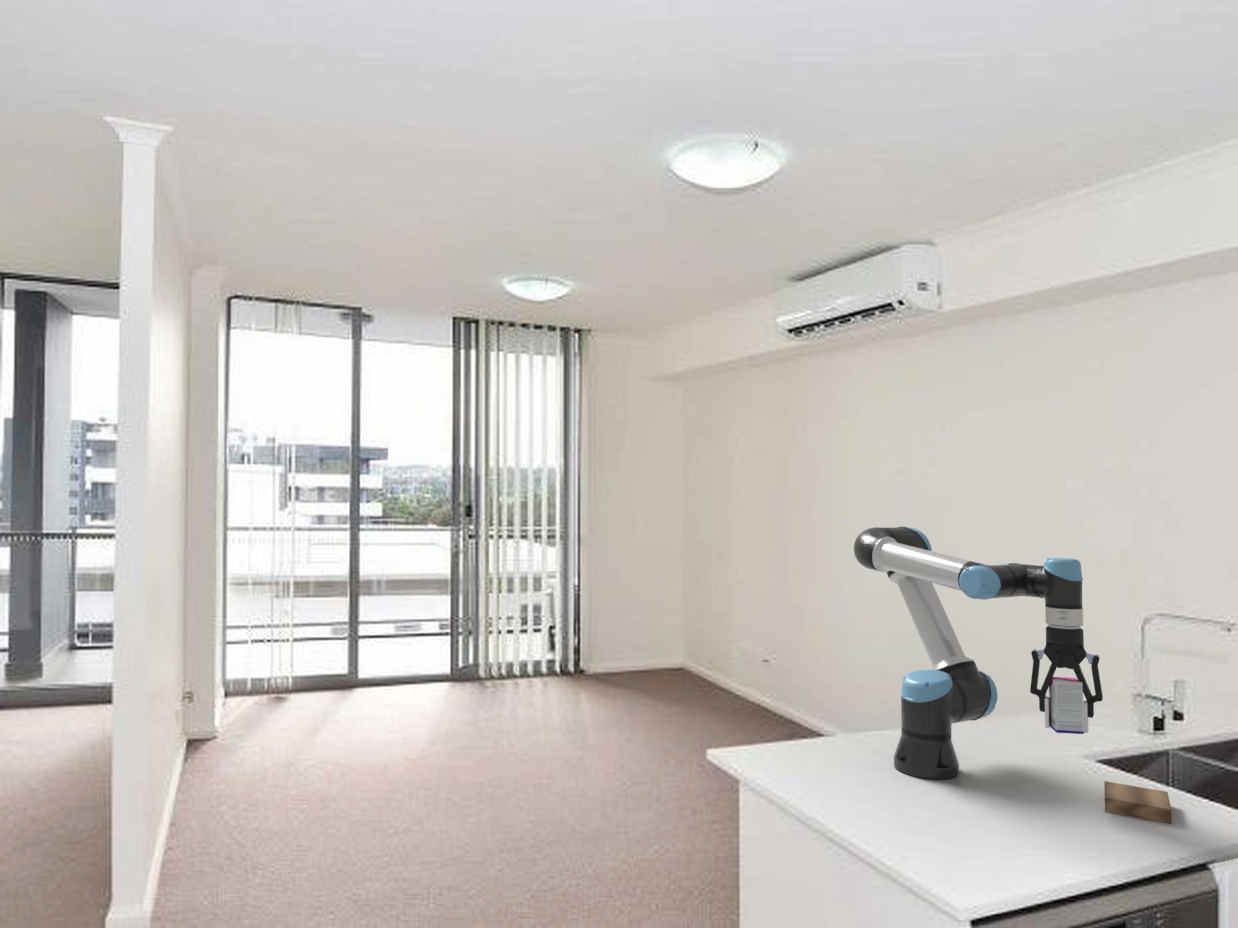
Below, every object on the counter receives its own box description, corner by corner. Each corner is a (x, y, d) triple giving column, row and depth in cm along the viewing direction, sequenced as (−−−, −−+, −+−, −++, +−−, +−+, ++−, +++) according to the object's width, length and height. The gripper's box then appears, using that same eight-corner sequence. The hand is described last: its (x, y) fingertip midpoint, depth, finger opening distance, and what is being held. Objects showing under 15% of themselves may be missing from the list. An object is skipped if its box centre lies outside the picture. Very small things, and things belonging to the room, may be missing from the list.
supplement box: (1085, 734, 180) (1083, 681, 181) (1056, 732, 182) (1053, 680, 183) (1077, 727, 186) (1075, 676, 187) (1048, 726, 188) (1046, 675, 188)
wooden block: (1104, 811, 176) (1104, 797, 177) (1104, 794, 187) (1104, 780, 187) (1171, 823, 170) (1171, 809, 170) (1167, 805, 181) (1167, 791, 181)
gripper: (1014, 624, 187) (1016, 726, 186) (1115, 632, 177) (1118, 739, 176) (1017, 621, 194) (1019, 719, 192) (1115, 627, 183) (1118, 731, 182)
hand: (1066, 728), depth 184 cm, fingers closed on supplement box, 7 cm apart
